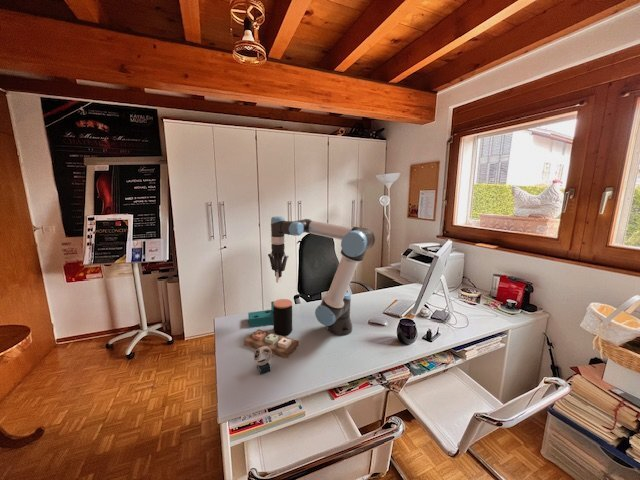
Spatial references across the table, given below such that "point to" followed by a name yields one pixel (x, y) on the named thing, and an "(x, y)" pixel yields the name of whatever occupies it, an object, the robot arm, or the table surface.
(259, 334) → the die
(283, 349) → the wooden dice tray
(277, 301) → the coffee jar
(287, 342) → the die
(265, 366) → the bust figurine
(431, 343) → the table surface
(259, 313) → the teal l-shaped bracket
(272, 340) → the die
